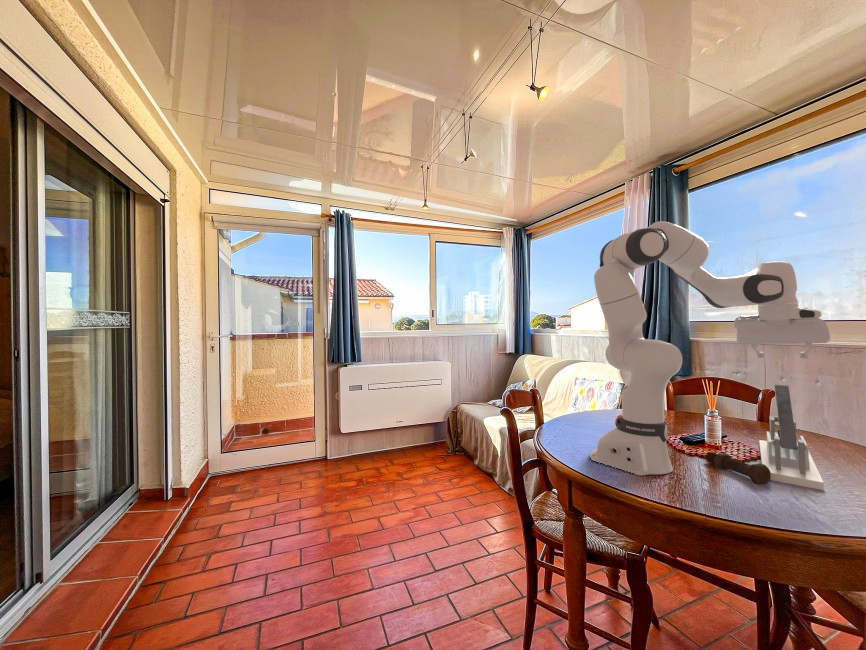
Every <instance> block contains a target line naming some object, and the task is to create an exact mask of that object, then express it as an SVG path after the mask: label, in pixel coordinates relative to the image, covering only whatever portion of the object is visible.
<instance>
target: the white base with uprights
mask: <svg viewBox="0 0 866 650" xmlns="http://www.w3.org/2000/svg"><path fill="white" fill-rule="evenodd" d="M793 421H794V427H795V434H796V435H797V422H796V420H795V418H794V417H793ZM777 422H778V423H779V421H778V416H775V415H769V431H766V440H763V439H762V440H761V439H759V441H758V442H759V453H760V460H761V461H760V462H761V464H764V465H766V466H767V467H768V468H769V470H770V473H771V479H770V481H773V482H779V483H784V484H789V485H794V486H800V487H804V488H808V489H809V488H810V489H814V490H820V491H825V485H824V484H825V483H824V480H823V478H822V476H821V474H820V472H819V470H818V467H817V465H816V464H815V461H814V459H813V457H812V455H811V453H810V450H809V446H808V444H807V442H806V440H805V438H804V435H799V438H798V439H797V437H798V436H796V441H797V450H793V449H786V448H782V447H781V438H780V430H779V426H776V423H777Z"/></svg>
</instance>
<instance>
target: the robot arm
mask: <svg viewBox="0 0 866 650" xmlns="http://www.w3.org/2000/svg"><path fill="white" fill-rule="evenodd" d="M600 250H601V251H600V253H599V262H600V263H599V268H598V269H597V270H596V271H595V273H594V274H593V275H594V276H593V280H594V281H593V282H594V286H595V291H596V296H597V299H598V302H599V305H600V309H601V311H602V314H603V316H604V320H605V323H606V325H607V331H608V345H607V347H606V349H605V359H606V361H607V362H608V364H609V365H610V366H612V367H613V368H615V369H617V370H619V371H621V372H625V373H630V378H629V379H630V380H629V383H628V385H627V387H626V388H625V389H624V390H623V391H622V392H621V409H622V410H621V411H622V413H621V414H619V415H617V416H616V419H615V420H614V425H615V428H613V429H611V430H610V431H608V432H607V433H605V434H603V435H602V436H600V438H599V439H598V442H597V447H596V448H594V449H593V450H592V451H590V453H589V459H590V458H591V459H593V460H595V461H598V462H601V463H604V464H607V465H610V466H612V467H611V468H613V467H616V468H619V469H622V470H625V471H624V472H626V471H628V472H627V473H629V472H631V473H630V474H632V473H634V474H633V475H636V476H647V475H665V474H666V475H667V474H669V473H671V472H673V471H674V467H673V465H672V462H671V459H670V455H669V449H668V445H667V440H668V426H667V421H666V420H665V392H666V390H667V386H668V384H669V381H670V380H671V378H672V377H673V376H675V375H676V374H677V373H678V372H680V370H681V368H682V365H683V355H682V352H681V351H680V349H679V348H678V347H677V346H676V345H674V344H672V343H670V342H666V341H663V340H659V339H650V338H645V337H644V335H643V324H644V323H645V322H646V320H647V317H648V314H647V310H646V308H645V306H644V302H643V299H642V297H641V294H640V292H639V289H638V286H637V284H636V282H635V277H634V276H635V269H639V268H643V267H644V266H649V265H652V264H653V263H655V262H657V261H659V262H661V263H663V264H664V265H666V266H668V267H669V268H670V269H672V272H673V273H674V274H676V276H678V278H680V279H681V280H682V281H684V282H685V283H687V284H688V285H689V286H690V287H692V288H693V289H694V290H696V291H697V292H698V293H700V294H701V295H702V296H703V298H704V299H705V300H706V302H707V303H708V304H709V305H710V306H712V307H714V308H717V309H727V308H732V307H747V306H755V305H757V311H758V314H752V315H740V316H738V317H736V318H735V319H734V321H733V322H734V324H733V325H734V328H735V329H736V342H737V343H738V344H739V345H751V348H752V349H753V350H754V351H755V352H756V357H757V359H764V358H765V356H764V351H760V350H759V349H758V346H759V345H761V344H763V345H764V344H765V345H766V344H774V345H775V344H804V347H806V349H805V350H804V351H800V352H799V353H800V359H808V358H809V355H808V354H809V352H810V351H811V349H813V344H827V343H829V342H830V341H831V335H830V331H829V327H828V325H827V322H826V321H825V320H824V319H822V318H821V317H822V311H820V310H819V309H813V308H809V307H800V306H799V301H798V299H797V296H796V295H797V291H798V284H797V276H796V272H795V269H794V266H793V265H792V263H790V262H786V261H779V260H777V261H767V262H762V263H760V264H758V265H757V267H756V268H755V269H754V270H751V271H750V272H747V273H746V274H744V275H743V274H741V275H737V276H731V277H716V276H714V275H713V274H711V273H710V272H709V271H707V270H706V269H704V268H703V265H704V264H705V262H706V261H707V260H708V256H709V253H710V247H709V244H708V243H707V242H706V240H704V238H702V237H700V236H699V235H697V234H696V233H694V232H692V231H690V230H688V229H686V228H684V227H682V226H680V225H677V224H675V223H671V222H669V221H665V220H660V221H655V222H654V223H653V222H652V224H651V225H649V226H648V227H647V228H646V227H645V228H643V227H642V228H639V229H635V230H634V231H631V232H629V233H627V232H626V233H623V234H621V235H619V236H618V237H616V238H615V239H611V240H609V241H608V242H607V243H606V244H605V245H604V246H603V247H602V249H600ZM616 468H615V469H616ZM619 469H618V470H619ZM622 470H621V471H622Z"/></svg>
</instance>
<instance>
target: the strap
mask: <svg viewBox="0 0 866 650" xmlns="http://www.w3.org/2000/svg"><path fill="white" fill-rule="evenodd" d="M774 393H775V402H776V411H777V417H778V421H779V422H778V427H779V430H780V438H781V447H782V448H786V449H793V450H797V443H798V440H797V441H796V437H797V433H796V434H795V427H794V421H793V418H794V415H793V409H792V401H791V395H790V388H789V385H785V384H784V385H783V384H774Z"/></svg>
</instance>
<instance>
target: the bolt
mask: <svg viewBox="0 0 866 650" xmlns="http://www.w3.org/2000/svg"><path fill="white" fill-rule="evenodd" d="M705 460H706V461H707V462H708V463H710V464H713V465H715V466H716V468H717V469H719V470H723V471H728V470H730V471H731V472H734V473H735V472H736V473H737V474H741V475H743V476H746V477H748V478H749V479H750V480H751V483H753V484H756V485H758V486H760V485H761V486H763V485H768V483H769V482H770V481H771V480H770V479H771V473H770V470H769V468H768V467H767V466H766V465H764V464H762V462H761V463H752V464H748V463H746V462H743V461H739V460H737V459H734V458H732V457H731V456H730V455H729V454H728V453H725V452H720V453H716V452H713V451H711V452H706V454H705Z"/></svg>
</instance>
